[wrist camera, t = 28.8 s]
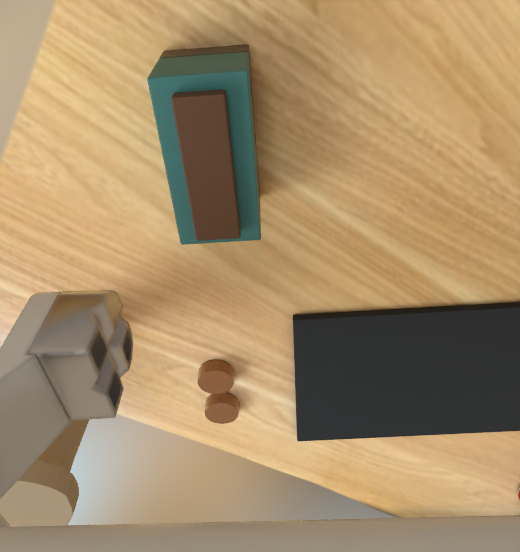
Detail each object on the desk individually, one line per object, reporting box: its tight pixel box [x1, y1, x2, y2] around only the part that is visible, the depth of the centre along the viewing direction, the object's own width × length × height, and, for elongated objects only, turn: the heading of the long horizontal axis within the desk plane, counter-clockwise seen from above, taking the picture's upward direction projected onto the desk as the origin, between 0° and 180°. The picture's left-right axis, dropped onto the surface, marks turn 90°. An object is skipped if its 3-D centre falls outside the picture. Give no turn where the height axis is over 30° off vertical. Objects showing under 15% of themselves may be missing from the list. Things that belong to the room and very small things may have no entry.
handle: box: [0, 419, 89, 527], centre depth 31 cm, size 5×6×15 cm
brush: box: [147, 45, 261, 244], centre depth 26 cm, size 4×9×6 cm, turn 4°
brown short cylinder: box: [198, 360, 234, 394], centre depth 40 cm, size 3×3×1 cm
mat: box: [293, 302, 520, 441], centre depth 41 cm, size 24×16×1 cm, turn 94°
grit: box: [205, 393, 239, 424], centre depth 43 cm, size 3×3×1 cm
